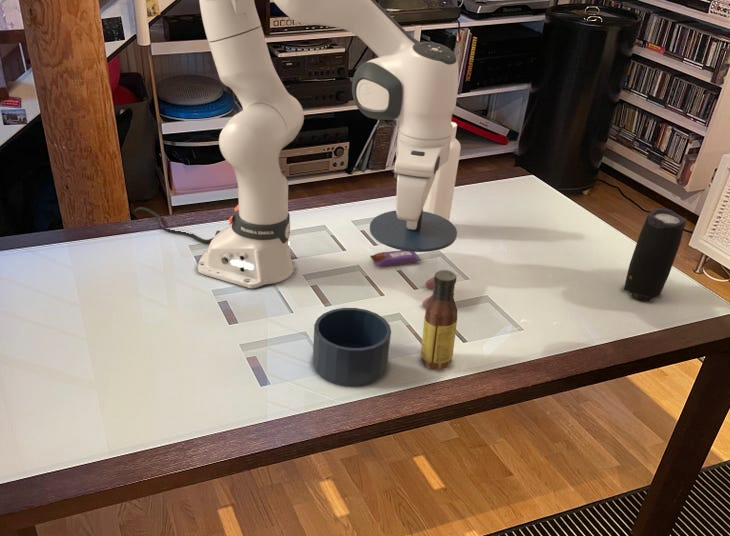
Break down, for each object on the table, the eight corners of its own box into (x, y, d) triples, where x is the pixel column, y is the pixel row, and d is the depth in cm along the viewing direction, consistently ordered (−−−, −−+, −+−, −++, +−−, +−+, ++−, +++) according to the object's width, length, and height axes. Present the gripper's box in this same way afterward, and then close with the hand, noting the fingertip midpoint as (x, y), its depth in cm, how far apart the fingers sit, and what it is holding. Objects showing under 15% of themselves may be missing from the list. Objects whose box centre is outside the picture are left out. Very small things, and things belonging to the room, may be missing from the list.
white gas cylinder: (448, 225, 202) (465, 120, 185) (446, 238, 195) (463, 131, 179) (418, 221, 203) (431, 116, 186) (414, 234, 197) (428, 127, 180)
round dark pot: (304, 378, 147) (305, 342, 142) (323, 337, 158) (325, 302, 153) (378, 393, 144) (382, 356, 139) (392, 350, 155) (397, 315, 150)
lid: (360, 247, 133) (362, 219, 130) (379, 210, 145) (381, 184, 142) (450, 261, 130) (454, 233, 127) (461, 222, 142) (465, 196, 139)
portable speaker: (625, 301, 173) (651, 223, 161) (618, 281, 180) (642, 204, 169) (664, 305, 172) (693, 227, 160) (656, 285, 179) (683, 208, 168)
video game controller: (437, 316, 168) (456, 294, 164) (420, 306, 168) (438, 283, 164) (440, 294, 176) (457, 272, 172) (423, 284, 175) (441, 261, 171)
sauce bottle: (454, 357, 153) (470, 271, 142) (445, 374, 149) (461, 287, 137) (423, 349, 155) (436, 263, 144) (413, 365, 151) (426, 278, 139)
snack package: (414, 247, 187) (422, 257, 183) (413, 254, 188) (421, 264, 184) (370, 252, 184) (377, 262, 180) (369, 259, 185) (376, 269, 182)
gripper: (414, 125, 137) (406, 197, 145) (392, 167, 121) (385, 245, 129) (450, 129, 135) (439, 202, 143) (432, 172, 119) (422, 250, 128)
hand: (413, 222), depth 136 cm, fingers closed on lid, 2 cm apart
